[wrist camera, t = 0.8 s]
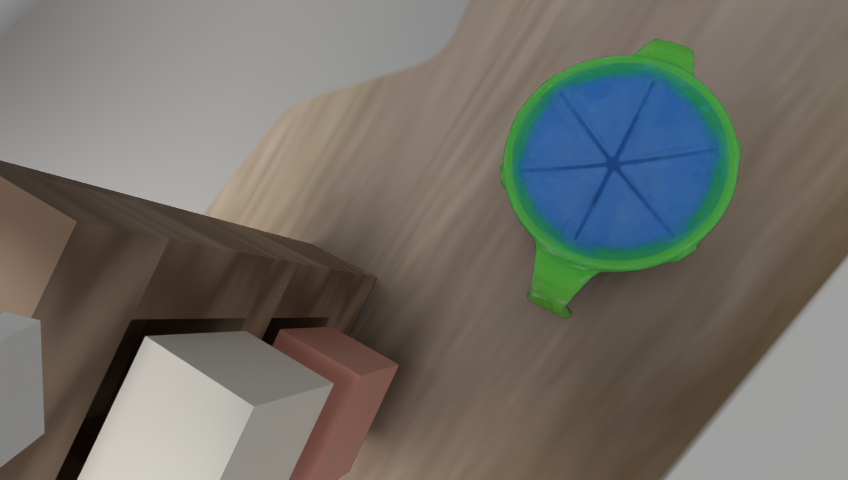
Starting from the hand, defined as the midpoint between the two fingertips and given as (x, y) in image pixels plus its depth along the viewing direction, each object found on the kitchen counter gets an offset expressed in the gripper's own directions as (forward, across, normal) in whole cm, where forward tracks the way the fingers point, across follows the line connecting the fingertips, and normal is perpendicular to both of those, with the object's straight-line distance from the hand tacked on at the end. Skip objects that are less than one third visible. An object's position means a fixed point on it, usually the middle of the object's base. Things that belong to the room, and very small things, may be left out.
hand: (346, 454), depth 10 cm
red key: (+19, -4, -12) cm, 23 cm away
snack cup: (+26, +10, +1) cm, 28 cm away
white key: (+11, -6, -9) cm, 15 cm away
